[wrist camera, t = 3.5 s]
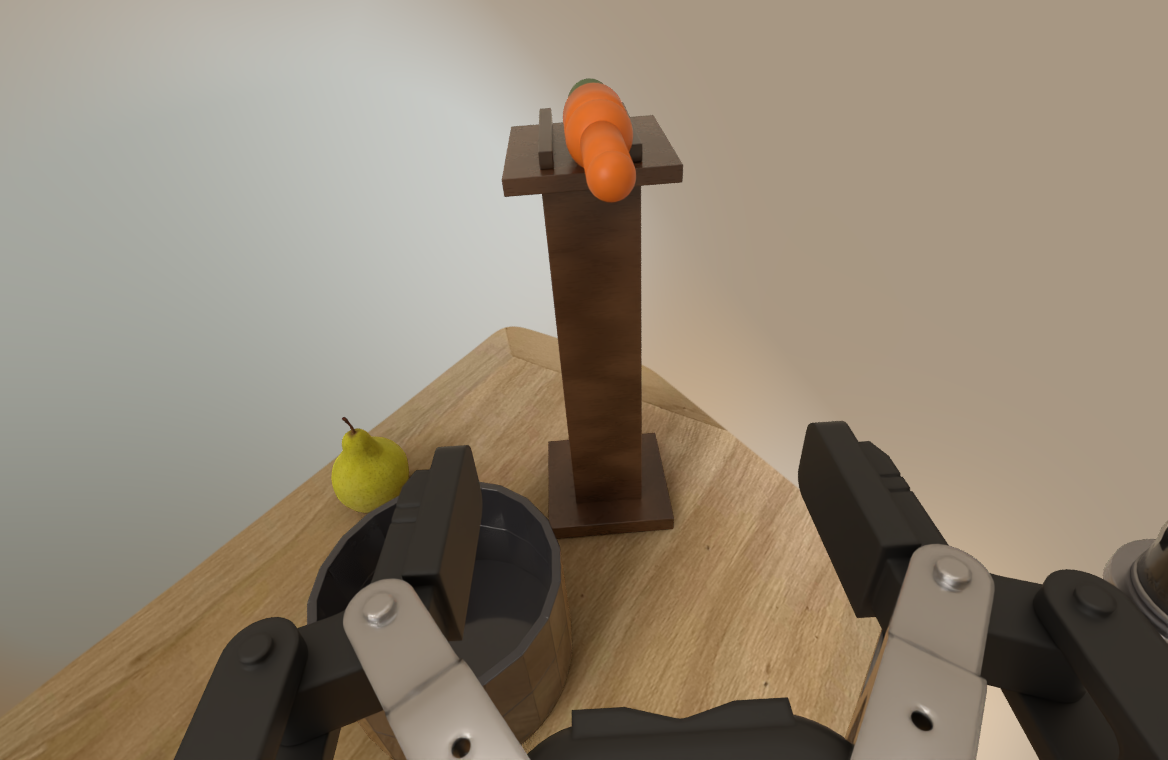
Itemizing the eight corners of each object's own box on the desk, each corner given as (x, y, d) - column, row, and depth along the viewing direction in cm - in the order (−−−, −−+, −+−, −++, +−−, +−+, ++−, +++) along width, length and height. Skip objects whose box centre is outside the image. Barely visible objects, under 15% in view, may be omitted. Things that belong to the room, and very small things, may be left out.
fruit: (350, 479, 58) (307, 388, 51) (418, 466, 59) (386, 374, 52) (342, 533, 53) (293, 440, 46) (417, 518, 54) (381, 423, 47)
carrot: (609, 131, 39) (620, 73, 37) (644, 230, 26) (665, 149, 24) (556, 122, 38) (565, 62, 36) (565, 218, 25) (579, 133, 23)
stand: (654, 442, 60) (660, 98, 39) (673, 529, 51) (693, 144, 31) (549, 451, 60) (501, 111, 39) (550, 539, 51) (489, 161, 31)
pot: (568, 551, 50) (558, 472, 44) (577, 762, 37) (563, 693, 31) (383, 566, 50) (347, 490, 44) (327, 783, 37) (265, 718, 31)
